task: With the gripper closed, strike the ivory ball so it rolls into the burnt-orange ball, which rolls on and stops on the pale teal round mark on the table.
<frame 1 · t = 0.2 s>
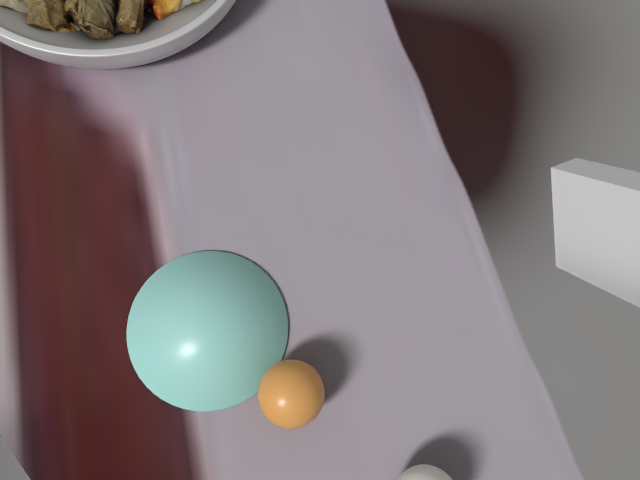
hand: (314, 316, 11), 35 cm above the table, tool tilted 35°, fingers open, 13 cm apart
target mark: (209, 328, 45), on the table
object ball: (291, 393, 42), on the table
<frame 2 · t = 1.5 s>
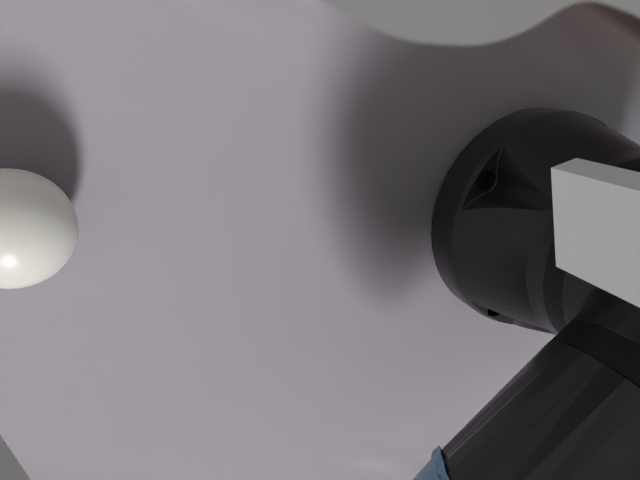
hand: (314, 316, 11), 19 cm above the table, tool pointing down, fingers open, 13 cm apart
cue ball: (12, 228, 23), on the table
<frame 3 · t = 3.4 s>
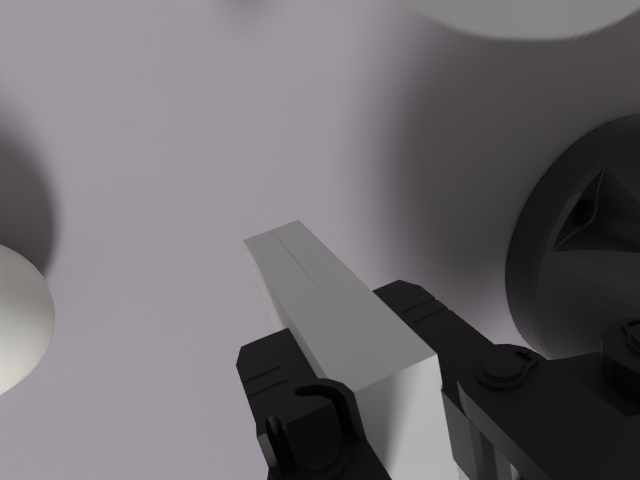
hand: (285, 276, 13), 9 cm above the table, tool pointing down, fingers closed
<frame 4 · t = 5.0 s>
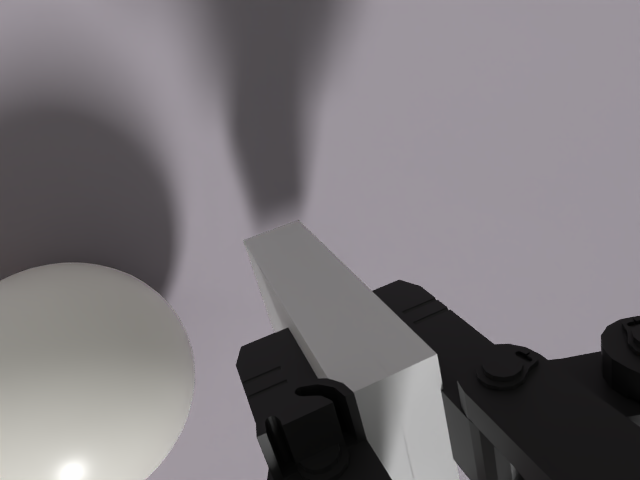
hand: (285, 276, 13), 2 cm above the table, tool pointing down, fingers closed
cue ball: (70, 383, 12), on the table
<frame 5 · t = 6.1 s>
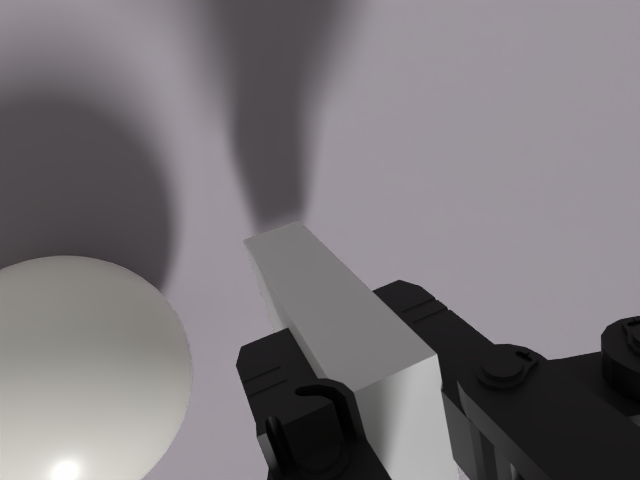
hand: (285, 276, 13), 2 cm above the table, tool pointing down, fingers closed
cue ball: (64, 379, 11), on the table
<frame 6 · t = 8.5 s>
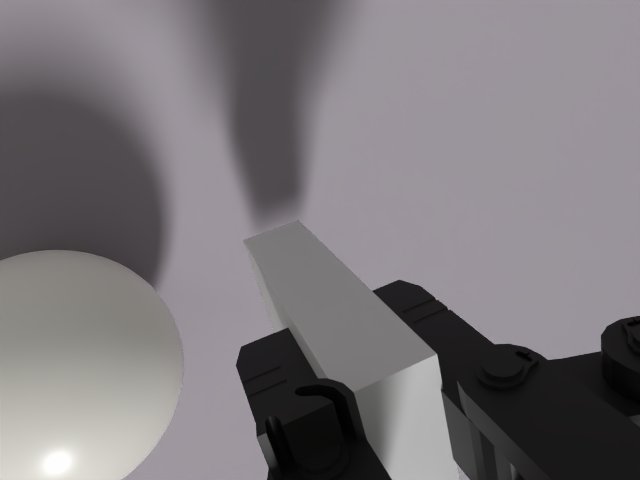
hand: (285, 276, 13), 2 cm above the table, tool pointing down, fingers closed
cue ball: (56, 372, 11), on the table
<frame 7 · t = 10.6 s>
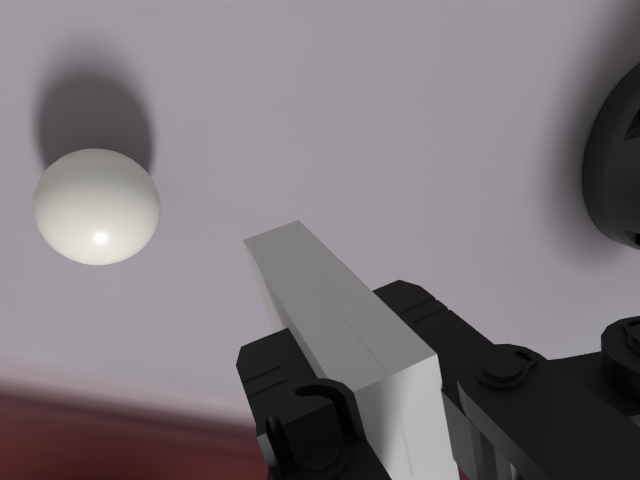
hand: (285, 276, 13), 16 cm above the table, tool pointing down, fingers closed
cue ball: (99, 207, 24), on the table
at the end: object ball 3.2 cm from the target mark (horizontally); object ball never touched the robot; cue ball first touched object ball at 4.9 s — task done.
